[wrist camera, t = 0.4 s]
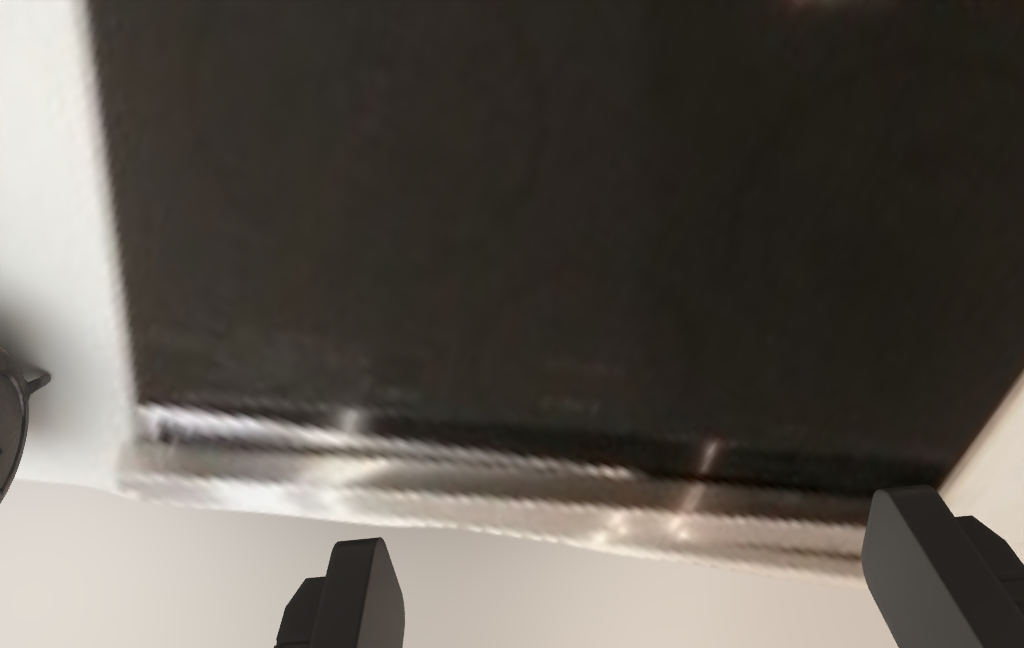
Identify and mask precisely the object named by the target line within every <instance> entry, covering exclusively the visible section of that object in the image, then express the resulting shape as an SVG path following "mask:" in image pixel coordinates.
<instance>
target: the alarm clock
mask: <svg viewBox="0 0 1024 648" xmlns="http://www.w3.org/2000/svg"><path fill="white" fill-rule="evenodd" d="M50 380H51V377H50V376H49V375H44V376H42V377H40V378H38V379H35V380H33V381H31V382H27V381H25V380H24V377H23V374H22V372H21V369H20V367H19V366H18V364H17V362H16V361H15V360H14V358H13V357H12V356H11V355H10V354H9V353H8V352H7V351H6V350H4V349H3V348H2V347H0V503H1V501H2V500H3V498H4V496H5V495H6V493H7V491H8V489H9V487H10V485H11V483H12V481H13V479H14V477H15V474H16V472H17V469H18V466H19V464H20V460H21V457H22V454H23V450H24V445H25V441H26V436H27V429H28V418H29V404H28V400H29V396H30V394H32V393H33V392H35V391H36V390H38V389H39V388H41V387H43V386H45V385H46V384H47V383H49V382H50Z"/></svg>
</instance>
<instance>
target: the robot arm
mask: <svg viewBox="0 0 1024 648" xmlns="http://www.w3.org/2000/svg"><path fill="white" fill-rule="evenodd" d="M862 567H863V572H864V576H865V579H866V582H867V585H868V588H869V590H870V592H871V594H872V596H873V598H874V600H875V602H876V604H877V606H878V608H879V609H880V612H881V613H882V615H883V617H884V619H885V621H886V623H887V625H888V627H889V629H890V631H891V633H892V635H893V637H894V639H895V641H896V643H897V645H898V647H899V648H1024V565H1023V563H1022V562H1021V561H1020V559H1019V558H1018V557H1017V555H1016V554H1015V553H1014V551H1013V550H1012V549H1011V547H1010V546H1009V545H1008V543H1007V542H1006V541H1005V540H1004V539H1002V538H1001V537H1000V536H998V535H997V534H996V533H994V532H993V531H992V530H991V529H989V528H988V527H987V526H985V525H984V524H983V523H981V522H980V521H979V520H977V519H976V518H975V517H973V516H962V517H954V515H953V514H952V513H951V511H950V510H949V508H948V507H947V505H946V504H945V502H944V501H943V500H942V498H941V497H940V495H939V494H938V493H937V491H936V490H935V489H934V488H932V487H931V486H929V485H917V486H907V487H897V488H887V489H878V490H877V491H876V492H875V493H874V495H873V499H872V504H871V508H870V513H869V518H868V523H867V528H866V532H865V537H864V542H863V547H862ZM404 627H405V612H404V602H403V596H402V592H401V589H400V586H399V583H398V580H397V577H396V574H395V571H394V568H393V565H392V562H391V559H390V556H389V553H388V550H387V547H386V544H385V542H384V540H383V539H382V538H381V537H379V538H370V539H359V540H349V541H339V542H337V543H336V544H335V545H334V547H333V550H332V553H331V557H330V561H329V565H328V569H327V574H326V577H316V578H306V579H305V580H304V582H303V583H302V585H301V586H300V588H299V589H298V590H297V592H296V593H295V595H294V596H293V598H292V599H291V601H290V602H289V603H288V605H287V606H286V608H285V611H284V615H283V618H282V622H281V625H280V629H279V632H278V635H277V639H276V640H277V645H276V646H274V648H402V645H403V637H404Z"/></svg>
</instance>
